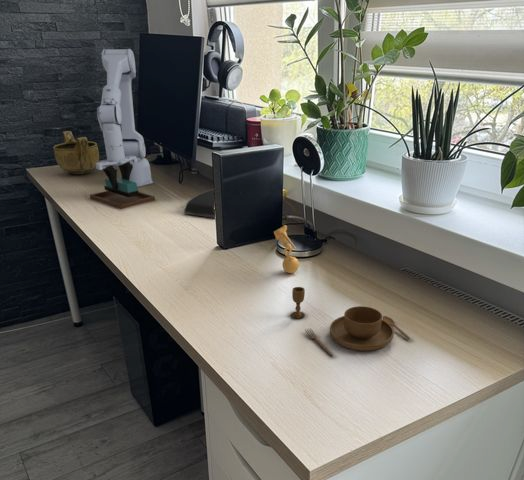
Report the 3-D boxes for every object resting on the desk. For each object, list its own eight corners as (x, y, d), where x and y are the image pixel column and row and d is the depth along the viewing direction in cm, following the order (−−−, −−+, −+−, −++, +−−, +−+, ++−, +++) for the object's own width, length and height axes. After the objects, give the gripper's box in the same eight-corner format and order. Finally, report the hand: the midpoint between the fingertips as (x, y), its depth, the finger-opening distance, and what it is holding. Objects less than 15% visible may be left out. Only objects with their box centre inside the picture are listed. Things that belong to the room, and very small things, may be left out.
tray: (123, 191, 187) (122, 186, 186) (155, 200, 176) (154, 196, 176) (90, 199, 179) (89, 194, 178) (121, 209, 168) (120, 205, 167)
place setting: (335, 363, 91) (338, 334, 88) (286, 314, 106) (286, 288, 103) (417, 342, 96) (422, 314, 93) (359, 298, 112) (361, 273, 109)
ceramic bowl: (110, 175, 207) (103, 135, 199) (67, 182, 199) (59, 140, 191) (92, 165, 222) (85, 127, 214) (51, 171, 214) (43, 132, 206)
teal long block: (104, 189, 179) (102, 178, 177) (115, 187, 182) (113, 175, 179) (128, 197, 171) (126, 185, 169) (138, 194, 174) (137, 182, 171)
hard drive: (181, 214, 163) (180, 201, 161) (213, 198, 178) (212, 186, 176) (217, 219, 158) (216, 206, 156) (246, 203, 173) (246, 190, 171)
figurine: (307, 276, 122) (309, 227, 116) (285, 282, 119) (286, 232, 113) (288, 264, 128) (288, 217, 122) (267, 270, 126) (266, 221, 119)
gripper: (101, 150, 161) (109, 194, 169) (139, 143, 170) (145, 185, 178) (89, 147, 165) (97, 190, 173) (127, 140, 174) (133, 181, 182)
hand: (120, 187), depth 175 cm, fingers closed on teal long block, 4 cm apart
